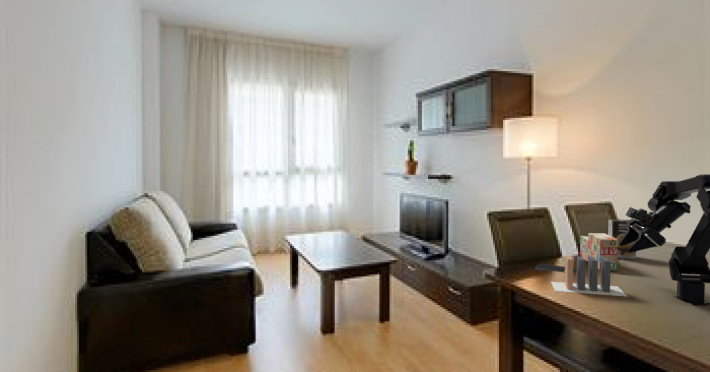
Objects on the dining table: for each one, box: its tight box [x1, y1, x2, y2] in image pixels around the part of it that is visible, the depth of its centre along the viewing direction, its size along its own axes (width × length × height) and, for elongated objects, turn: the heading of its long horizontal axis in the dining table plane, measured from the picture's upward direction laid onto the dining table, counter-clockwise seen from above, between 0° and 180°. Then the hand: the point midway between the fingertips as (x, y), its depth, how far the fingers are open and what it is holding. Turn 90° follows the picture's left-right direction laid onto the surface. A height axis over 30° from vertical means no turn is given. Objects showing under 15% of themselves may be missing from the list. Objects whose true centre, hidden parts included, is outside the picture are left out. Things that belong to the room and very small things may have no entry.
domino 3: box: [599, 258, 611, 293], centre depth 128 cm, size 2×5×10 cm, turn 161°
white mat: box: [550, 281, 627, 297], centre depth 130 cm, size 20×10×1 cm, turn 71°
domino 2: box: [587, 257, 599, 292], centre depth 130 cm, size 2×5×10 cm, turn 161°
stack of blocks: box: [579, 232, 618, 271], centre depth 163 cm, size 21×6×12 cm, turn 169°
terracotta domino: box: [564, 255, 574, 290], centre depth 132 cm, size 2×5×10 cm, turn 161°
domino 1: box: [576, 255, 586, 291], centre depth 131 cm, size 2×5×10 cm, turn 161°
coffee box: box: [607, 218, 637, 260], centre depth 171 cm, size 9×6×16 cm
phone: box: [534, 263, 577, 275], centre depth 154 cm, size 8×1×15 cm
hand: (624, 248), depth 134 cm, fingers open, 9 cm apart
